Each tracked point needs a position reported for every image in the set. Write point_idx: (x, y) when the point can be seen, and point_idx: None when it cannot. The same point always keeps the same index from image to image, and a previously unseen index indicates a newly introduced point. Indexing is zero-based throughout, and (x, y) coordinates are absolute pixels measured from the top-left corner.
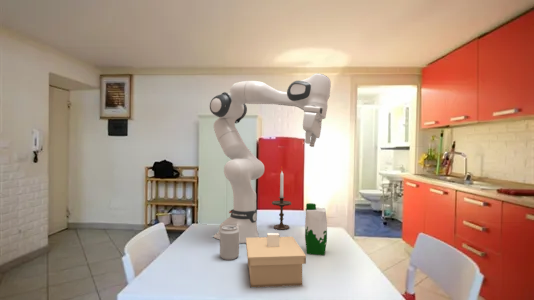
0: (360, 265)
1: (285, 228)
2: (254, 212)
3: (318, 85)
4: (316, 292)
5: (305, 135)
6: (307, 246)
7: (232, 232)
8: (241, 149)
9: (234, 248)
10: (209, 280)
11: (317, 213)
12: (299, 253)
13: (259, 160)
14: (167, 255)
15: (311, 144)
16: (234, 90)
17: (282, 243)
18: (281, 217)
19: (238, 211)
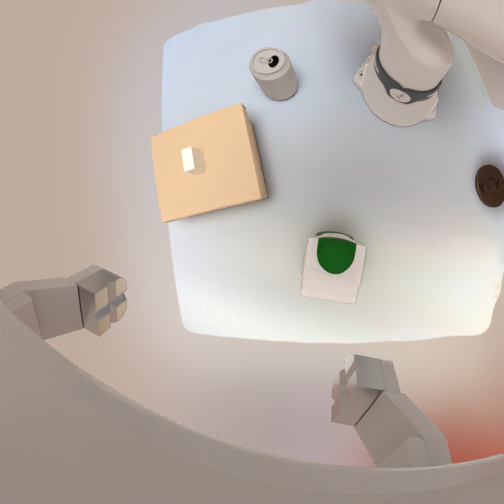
0: (269, 322)
1: (479, 194)
2: (399, 88)
3: None
4: (175, 234)
5: (33, 280)
6: (317, 234)
7: (252, 72)
8: None
9: (263, 89)
10: (194, 93)
11: (302, 270)
12: (169, 212)
13: None
14: (272, 11)
15: (347, 382)
16: None
17: (212, 178)
18: (501, 183)
19: (378, 49)
